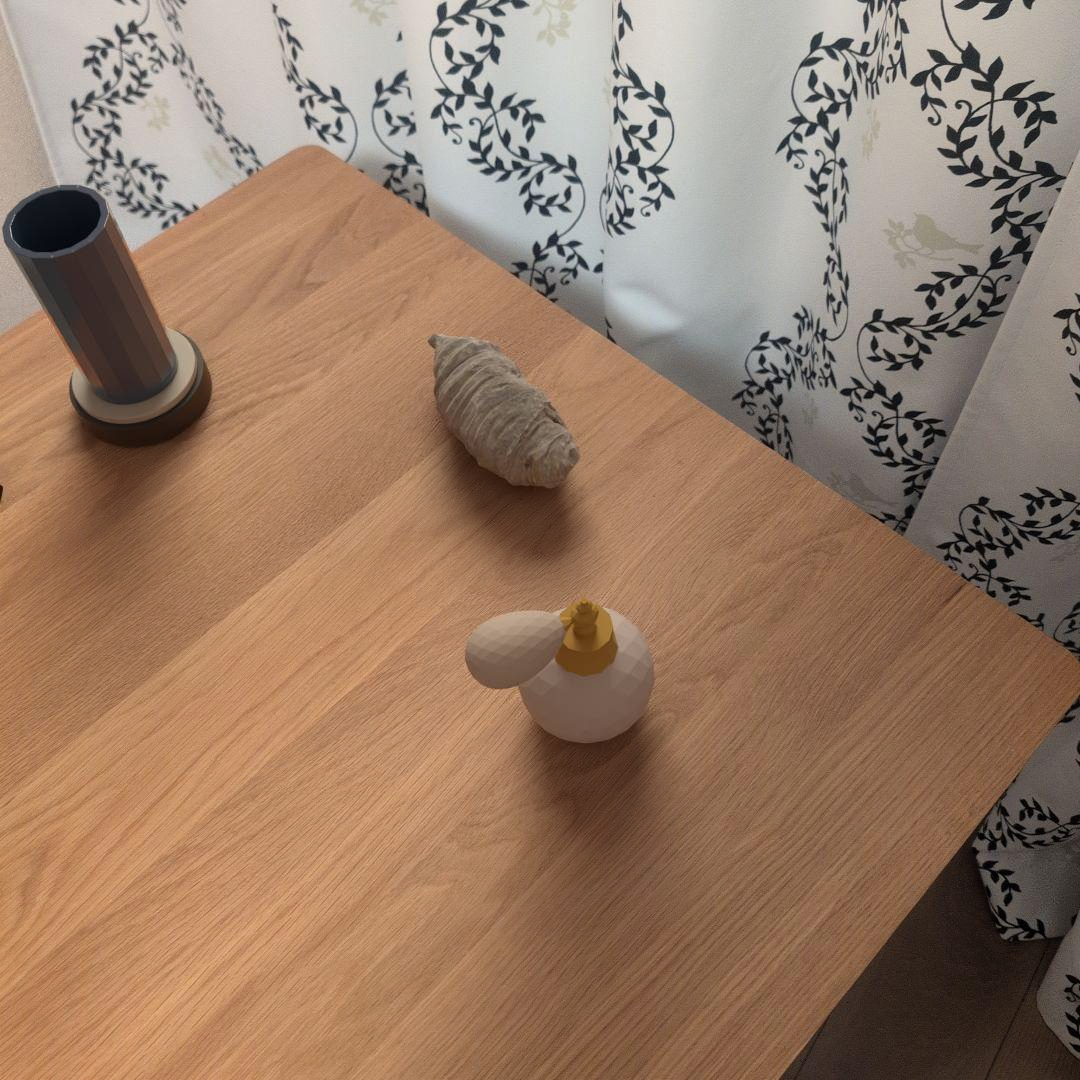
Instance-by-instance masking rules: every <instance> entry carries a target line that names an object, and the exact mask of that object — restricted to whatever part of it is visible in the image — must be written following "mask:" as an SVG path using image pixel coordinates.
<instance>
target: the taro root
mask: <svg viewBox="0 0 1080 1080" xmlns="http://www.w3.org/2000/svg"><path fill="white" fill-rule="evenodd" d="M427 343H428V345H429V347H431V348H432V349H433V350H434V357H433V369H432V371H433V377H434V378H435V379H434V386H433V396H434V398H435V401H436V404H435V405H436V406H435V407H436V411H437V412H438V414H439V415H440V418H441V419H442V420H443V422H444V425H445V427H446V429H447V430H448V431H449V433H450V434H451V435H452V436H454V437H455V438H456V439H457V440H459V441H460V442H462V444H463V445H464V447H465V450H466V451H467V452H468V453H469V454H470V455H471V456H472V457H473V458H474V459H475V460H476V462H477V464H478V467H483V468H485V469H486V470H488V471H489V472H491V473H493V474H495V475H496V476H499V477H500V478H503V479H505V480H506V481H507V483H509V484H511V485H512V486H515V487H516V486H524V487H528V486H532V487H544V488H547V489H555V488H557V487H559V486H560V483H561V482H564V480H566V478H567V477H568V475H569V473H570V472H571V471H572V469H573V468H574V467H575V466H576V465H577V463H578V462H579V461H580V459H581V454H580V453H581V452H580V449H579V447H578V445H577V443H576V442H575V441H574V437H573V435H572V432H571V431H570V430H568V429H567V425H566V423H565V421H564V419H563V418H562V416H561V414H560V412H558V410H557V408H556V407H555V405H553V404H552V402H551V400H550V399H549V398H548V397H547V394H545V392H544V391H543V390H541V389H540V388H539V387H538V386H536V385H534V384H533V383H531V382H529V381H528V380H527V378H526V377H525V376H524V375H523V372H522V371H521V369H520V367H519V365H518V364H517V363H516V362H514V361H513V360H512V359H511V358H509V357H508V355H505V354H504V353H503V351H502V348H501V347H500V346H499V345H498V344H497V343H494V342H492V341H490V340H485V339H482V340H481V339H478V338H476V337H475V336H460V335H459V336H455V335H446V334H444V333H439V334H437V333H433V334H432V335H431V336H428V337H427Z"/></svg>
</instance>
